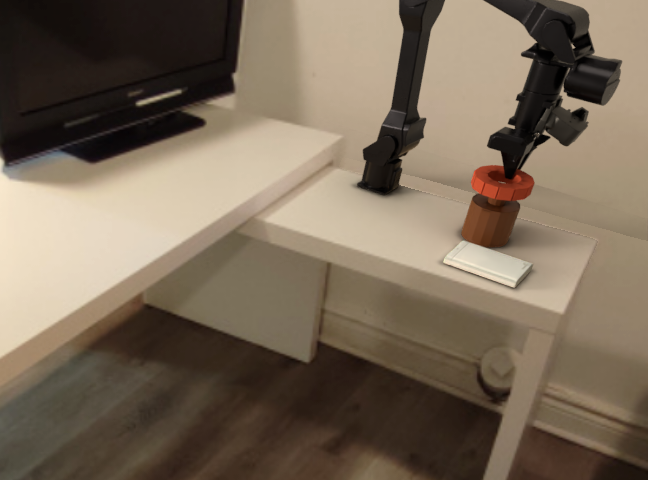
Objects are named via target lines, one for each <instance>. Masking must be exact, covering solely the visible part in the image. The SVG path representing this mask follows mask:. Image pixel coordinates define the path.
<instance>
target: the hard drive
mask: <svg viewBox="0 0 648 480" xmlns="http://www.w3.org/2000/svg"><path fill="white" fill-rule="evenodd" d="M443 264H445V265H449V266H451V267H454V268H457V269H460V270H462V271H465V272H468V273H471V274H474V275H477V276H479V277H483V278H485V279H488V280H490V281H494V282H496V283H499V284H502V285H505V286H507V287H511V288H513V289H515V288H516V287H517V286H518V285H519V284H520V283H521V282H522V281H523V280H524V279H525V278H526V277H527V275H528V274H529V273H530V272H531V271H532V269H533V266H534V263H532V262H530V261H527V260H523V259H520V258H517V257H516V256H515V257H514V256H513V255H512V256H511V255H509V254H505V253H503V252H500V251H497V250H495V249H492V248H489V247H483V246H479V245H476V244H473V243H471V242H469V241H467V240H465V239H464V240H462V241H460V242H459V243H458V244H457V245H456V246H455V247H454V248H453V249H452V250H451V251H449V252H448V253H447V254H446V256H445V257H444V259H443Z"/></svg>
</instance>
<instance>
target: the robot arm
mask: <svg viewBox="0 0 648 480" xmlns="http://www.w3.org/2000/svg"><path fill="white" fill-rule="evenodd" d="M482 1H484V2H485V3H487V4H489V5H490V6H492V7H494V8H496V9H497V10H498V11H501V12H502V13H504V14H505V15H508V16H509V17H512V19H514V20H516V21H518V22H519V23H520V24H521V25H522V26H523V27H524V29H525V30H526V32H527V34H528V36H530V38H532V39H533V40H534V41H535V42H534V44H532V46H530V47H529V48H527V49H526V50H524V51H521V52H520V57H522V58H527V59H529V60H530V59H531V60H532V61H531V64H530V68H529V70H528V73H527V76H526V79H525V82H524V85H523V88H522V91H521V92H519V93H517V94H516V98H515V101H516V102H518V103H517V105H516V109H515V111H514V114H513V115H512V116H511V117H509V119H508V122H507V125H509V126H513V127H514V128H512V127H508V126H503V127H501V128H500V129H498V130H497V131H495V132H494V133H492V134H490V135H489V137H488V140H487V144H486V147H487V148H488V149H491V150H495V151H498V152H500V155H501V161H502V166H503V167H504V174H505V178H506V179H510V180H511V179H512V178H513V176H514V174H515V173H516V171H517V169H518V170H522V169H523V167H524V166H525V165H526V163H527V161H528V159H529V158H530V156H531V155H532V154H533V152H534V151H535V150H537V149H538V147H539V146H541V145H543V144H545V143H547V142H548V141H549V140H551V137H553V139H555V140H557V141H558V143H559V144H560V145H562V146H563V147H570V146H571V144H573V143H575V142H576V140H578V139H579V137H580V136H581V135H582V134H583V133H584V131H585V130H587V128H588V127H589V123H590V122H589V121H587V120H588V117H589V110H588V109H586V108H585V107H583V106H581V107H578V108H576V109H574V110H573V111H572V109H570V108H568V109H566V108H565V107H563V106H562V104H563V101H564V98H563V95H561V91H562V89H563V93H565V94H566V96H567V97H568V98H572V99H574V100H575V99H576V100H579V101H583V102H587V103H590V104H593V105H599V106H603V107H604V106H606V105H607V104H608V103H609V102H610V100H611V99H612V98H613V96H614V95H615V93H616V91H617V89H618V87H619V85H620V82H621V79H620V78H621V74H622V69H621V66H622V64H623V60H622V59H619V58H618V59H617V58H607V57H604V56H598V55H595V52H596V50H595V47H594V43H593V41H592V37H591V33H590V30H589V29H590V24H591V22H590V14H589V12H588V11H587V10H586V9H585V8H584V7H582V6H579V5H576V4H573V3H570V2H567V1H564V0H482ZM445 2H446V0H398V16H399V19H400V22H401V26H402V37H401V44H400V49H399V56H398V62H397V69H396V75H395V81H394V86H393V93H392V99H391V105H390V109H389V111H388V113H387V114H386V116H385V118H384V120H383V122H382V123H381V126H380V128H379V132H378V135H377V138H376V141H374V142H372V143H371V144H369V145H367V146H366V147H364V148H363V149H362V159H363V161H365V164H364V167H363V172H362V176H361V180H360V181H359V182H357V183H356V186H357V187H359V188H362V189H365V190H368V191H370V192H373V193H377V194H378V195H382V196H385V195H388V194H389V193H391V192H393V191H394V190H395V189H397V188H398V187H400V185H401V184H400V181H401V177H402V174H403V173H402V172H403V167H402V163H403V159H402V158H403V157H406V156H407V155H408V153H409V152H410V151H412V150H414V149H415V148H416V147H418V146H419V144H420V142H421V140H423V139H424V138H425V135H424V129H425V126H426V123H427V118H426V117H420V113H419V110H418V105H419V99H420V93H421V89H422V84H423V83H422V82H423V78H424V71H425V67H426V61H427V56H428V55H427V54H428V49H429V43H430V38H431V33H432V29H433V26H434V25H435V23H436V22H437V20H438V18H439V16H440V15H441V13H442V11H443V8H444V5H445ZM573 47H574V48H573ZM545 132H546V133H547V134H548V135H547V134H544V133H545Z"/></svg>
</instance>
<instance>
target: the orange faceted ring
mask: <svg viewBox="0 0 648 480" xmlns="http://www.w3.org/2000/svg"><path fill="white" fill-rule="evenodd" d="M470 184H471V188H472V189H473V190H474V191H475V192H477V194H478V193H480V194H482V195H484V196H487V197H490V198H493V199H495V198H496V199H498V200H506V201H516V200H517V201H524V200H526V199H527V198H528V197H530V196H531V194H532V191H533V189H534V186H535V184H536V183H535V180H534V177H533V176H532V175H530V174H529V173H527V172H526V171H523V170H522V169H521V170H518V169H517V171H516V173H515V174H514V176H513V178H512V179H511V180H510V179H506V178H505V174H504V167H503V165H498V164H488V165H482V166H479V167H478V168H476V169H474V171H473V174H472V177H471V180H470Z"/></svg>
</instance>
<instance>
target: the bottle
mask: <svg viewBox="0 0 648 480" xmlns="http://www.w3.org/2000/svg"><path fill="white" fill-rule="evenodd" d="M520 210H521V203H519V201H518V200H516V201H506V200H498V199H496V198H495V199H493V198H490V197H487V196H484V195H482V194H480V193H478V192H477V193H476V194H474V195H473V196H472V197H471V200H470V204H469V206H468V210H467V213H466V216H465V219H464V222H463V225H462V228H461V233H460V234H461V237H462V238H463V239H464V240H465V241H467V242H470V243H473V244H476V245H479V246H482V247H485V248H491V249H492V248H501V247H504V246H506V245H507V243H508V241H509V240H510V237H511V235H512V231H513V229H514V226H515V224H516V221H517V219H518V216H519V212H520Z"/></svg>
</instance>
